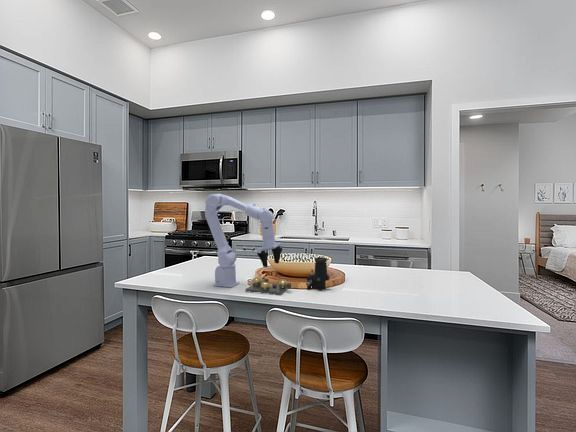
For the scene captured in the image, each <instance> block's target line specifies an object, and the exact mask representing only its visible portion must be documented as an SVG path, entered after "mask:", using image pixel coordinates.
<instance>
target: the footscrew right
mask: <svg viewBox="0 0 576 432" xmlns="http://www.w3.org/2000/svg"><path fill="white" fill-rule="evenodd" d="M269 283H270V282H269V281H268V282H262V283H261V289H263V290H267V289H269V287H271V288H273V289H276V288H277V284H278V283H275V282H274V283H271V284H269Z"/></svg>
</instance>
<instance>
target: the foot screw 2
mask: <svg viewBox="0 0 576 432" xmlns="http://www.w3.org/2000/svg"><path fill="white" fill-rule="evenodd" d="M278 284H279V287H281V288H285V287H287V288H289V289H291V288H292V282H288V281H287V279H281V280H278Z"/></svg>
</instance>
